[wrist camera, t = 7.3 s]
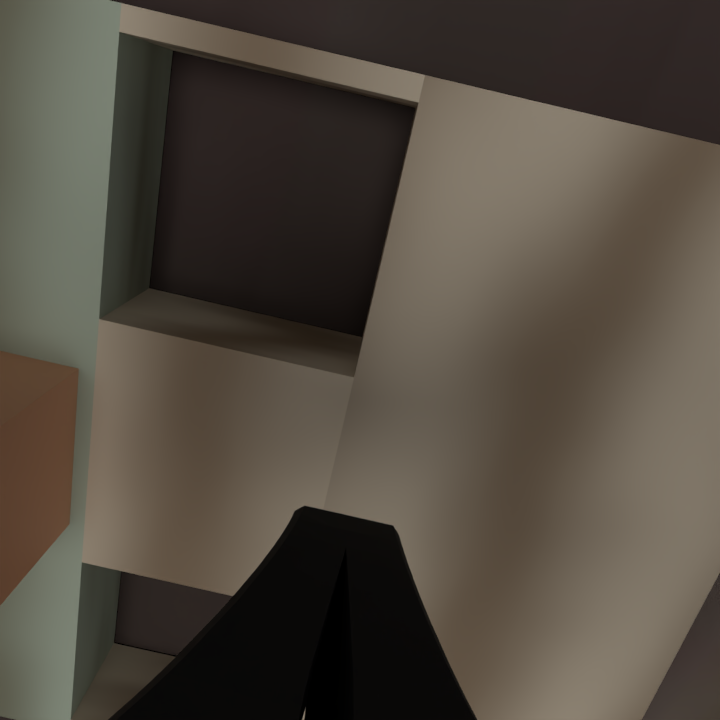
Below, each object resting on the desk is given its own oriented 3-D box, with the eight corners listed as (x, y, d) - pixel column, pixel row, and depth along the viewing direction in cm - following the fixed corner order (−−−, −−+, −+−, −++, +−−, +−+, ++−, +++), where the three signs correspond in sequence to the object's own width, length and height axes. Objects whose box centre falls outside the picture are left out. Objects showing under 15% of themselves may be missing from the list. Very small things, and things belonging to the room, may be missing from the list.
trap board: (823, 181, 15) (988, 200, 11) (554, 751, 22) (590, 898, 18) (-74, -32, 15) (-267, -97, 10) (-56, 616, 22) (-166, 733, 17)
